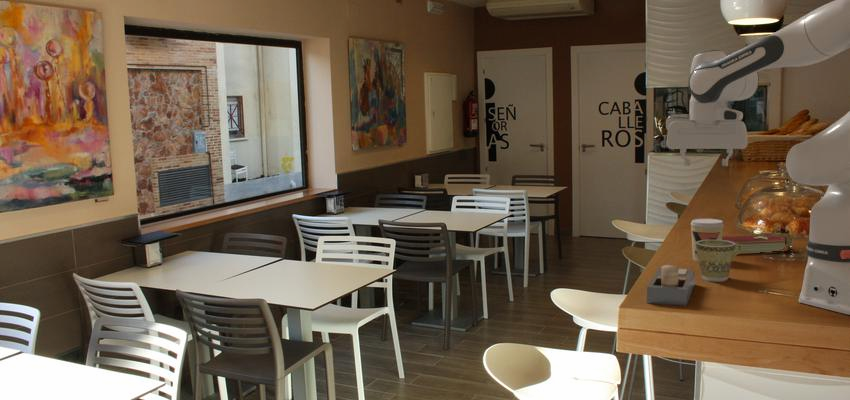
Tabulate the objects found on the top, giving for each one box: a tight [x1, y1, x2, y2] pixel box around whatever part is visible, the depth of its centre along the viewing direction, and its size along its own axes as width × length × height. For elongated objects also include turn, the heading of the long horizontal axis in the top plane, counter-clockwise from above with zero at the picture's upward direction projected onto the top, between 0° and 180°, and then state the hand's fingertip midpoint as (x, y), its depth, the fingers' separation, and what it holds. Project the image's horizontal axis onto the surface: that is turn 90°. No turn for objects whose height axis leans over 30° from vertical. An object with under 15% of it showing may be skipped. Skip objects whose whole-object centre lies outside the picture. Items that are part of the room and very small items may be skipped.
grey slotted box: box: [646, 267, 696, 307], centre depth 195 cm, size 22×9×4 cm, turn 156°
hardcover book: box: [722, 234, 786, 255], centre depth 246 cm, size 12×21×4 cm, turn 94°
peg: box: [660, 264, 679, 287], centre depth 190 cm, size 4×4×8 cm
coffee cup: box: [690, 218, 724, 263], centre depth 232 cm, size 9×9×12 cm
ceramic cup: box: [696, 240, 741, 283], centre depth 209 cm, size 13×10×10 cm
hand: (705, 165), depth 204 cm, fingers open, 8 cm apart
